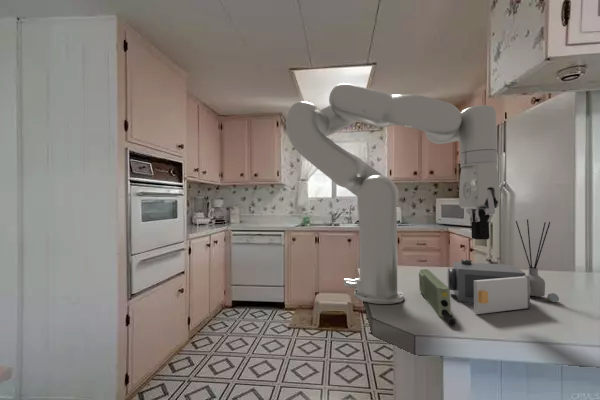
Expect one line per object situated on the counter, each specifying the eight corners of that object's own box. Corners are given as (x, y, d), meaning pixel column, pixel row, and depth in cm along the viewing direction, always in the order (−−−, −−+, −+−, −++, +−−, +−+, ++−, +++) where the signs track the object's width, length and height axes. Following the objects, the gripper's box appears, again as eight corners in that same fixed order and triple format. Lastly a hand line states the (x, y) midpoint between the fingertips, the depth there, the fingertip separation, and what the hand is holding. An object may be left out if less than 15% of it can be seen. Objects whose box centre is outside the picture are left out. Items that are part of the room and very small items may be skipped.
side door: (526, 306, 72) (525, 275, 72) (535, 309, 70) (534, 277, 70) (473, 312, 68) (473, 279, 68) (481, 315, 66) (481, 281, 66)
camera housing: (451, 300, 77) (450, 264, 77) (447, 290, 86) (446, 257, 87) (525, 307, 72) (525, 268, 72) (512, 295, 81) (512, 261, 81)
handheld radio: (431, 293, 85) (462, 329, 60) (419, 293, 85) (444, 329, 61) (430, 268, 85) (460, 295, 60) (417, 268, 85) (442, 294, 61)
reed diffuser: (509, 293, 83) (508, 219, 84) (526, 290, 86) (525, 218, 86) (552, 304, 74) (551, 220, 74) (569, 301, 76) (568, 220, 77)
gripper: (448, 165, 80) (450, 236, 80) (477, 155, 65) (480, 243, 65) (478, 164, 79) (480, 235, 79) (515, 154, 65) (517, 242, 64)
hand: (480, 238), depth 72 cm, fingers closed
